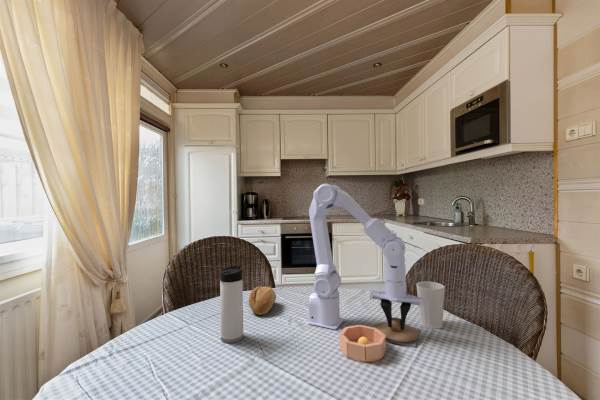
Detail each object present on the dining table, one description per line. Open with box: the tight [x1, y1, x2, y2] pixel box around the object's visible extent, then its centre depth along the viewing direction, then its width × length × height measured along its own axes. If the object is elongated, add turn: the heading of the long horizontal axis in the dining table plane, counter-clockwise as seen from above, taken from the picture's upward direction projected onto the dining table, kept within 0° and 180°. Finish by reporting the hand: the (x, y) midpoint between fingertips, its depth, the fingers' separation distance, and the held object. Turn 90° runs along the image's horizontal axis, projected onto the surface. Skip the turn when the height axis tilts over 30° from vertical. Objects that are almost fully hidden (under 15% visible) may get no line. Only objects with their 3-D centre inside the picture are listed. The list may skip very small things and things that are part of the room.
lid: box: [374, 316, 420, 342], centre depth 78 cm, size 12×12×4 cm
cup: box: [415, 281, 446, 330], centre depth 84 cm, size 8×8×12 cm
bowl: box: [338, 324, 387, 363], centre depth 70 cm, size 11×11×4 cm
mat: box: [380, 321, 420, 348], centre depth 78 cm, size 11×11×1 cm
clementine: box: [358, 337, 370, 345], centre depth 69 cm, size 3×3×3 cm
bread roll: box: [248, 285, 277, 316], centre depth 99 cm, size 10×15×8 cm, turn 179°
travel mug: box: [219, 264, 244, 344], centre depth 78 cm, size 6×7×20 cm
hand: (396, 327), depth 78 cm, fingers closed on lid, 3 cm apart
